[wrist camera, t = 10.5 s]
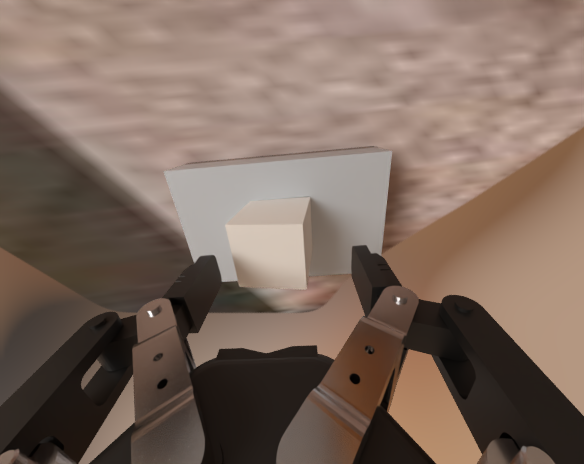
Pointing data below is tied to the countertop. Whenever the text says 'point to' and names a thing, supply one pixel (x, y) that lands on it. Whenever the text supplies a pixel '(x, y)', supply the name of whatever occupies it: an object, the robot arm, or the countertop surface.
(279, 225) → the cream rectangular block
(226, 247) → the grey rectangular block
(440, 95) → the countertop surface
